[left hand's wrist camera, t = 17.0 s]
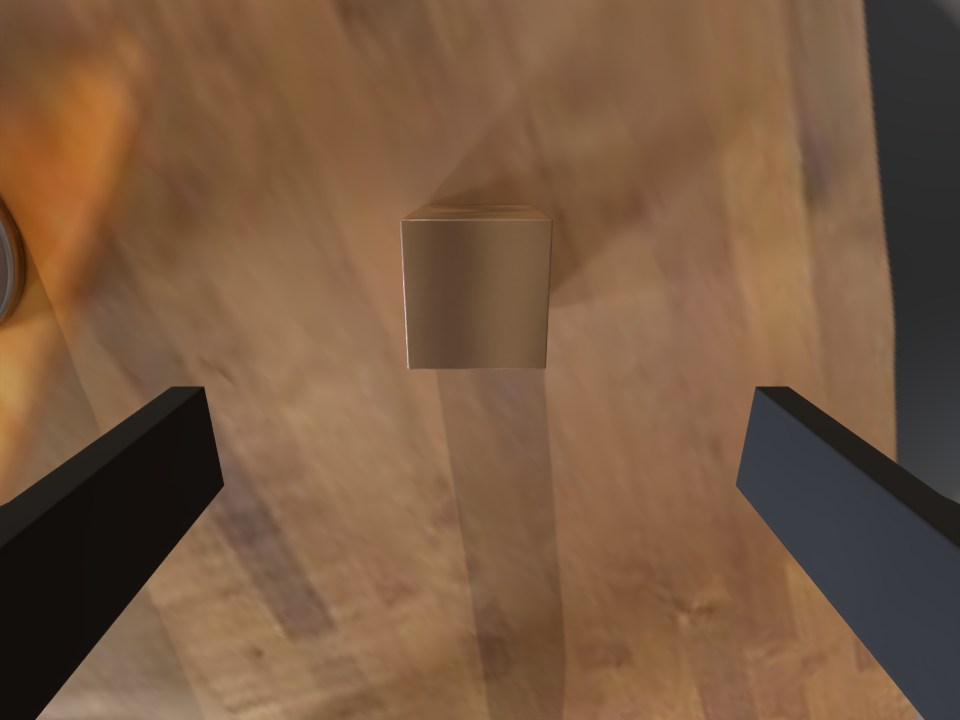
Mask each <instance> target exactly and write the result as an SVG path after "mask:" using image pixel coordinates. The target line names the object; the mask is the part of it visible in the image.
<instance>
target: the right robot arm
mask: <svg viewBox="0 0 960 720" xmlns="http://www.w3.org/2000/svg"><path fill="white" fill-rule="evenodd" d="M24 279H25V262H24V253H23V248H22V244H21V240H20V237H19V234H18V231H17V228H16V226H15V223H14V221H13V219H12V217H11V215H10V213H9V211H8V209H7V207H6V206H5V204H4V202H3V201H2V199H1V198H0V326H1V325H3V324H4V323H5V322H6V321H7V320H8V318H9V317H10V316H11V315H12V313H13V312H14V310H15V308H16V306H17V305H18V303H19V300H20V297H21V295H22V291H23V286H24Z"/></svg>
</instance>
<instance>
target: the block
mask: <svg viewBox="0 0 960 720" xmlns="http://www.w3.org/2000/svg"><path fill="white" fill-rule="evenodd" d="M552 225H553V220H552V219H551V218H549V217H548V216H546V215H545V214H543V213H542V212H540V211H539V210H537V209H536V208H534V207H533V206H531V205H423V206H421V207H420V208H418V209H417V210H415V211H413V212H412V213H410V214H409V215H407V216H406V217H404V218H403V219H401V220H400V229H401V248H402V267H403V286H404V305H405V324H406V343H407V362H408V369H545V368H546V353H547V332H548V310H549V289H550V268H551V246H552Z"/></svg>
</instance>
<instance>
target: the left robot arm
mask: <svg viewBox="0 0 960 720" xmlns="http://www.w3.org/2000/svg"><path fill="white" fill-rule="evenodd" d="M223 486H224V482H223V477H222V472H221V467H220V462H219V457H218V452H217V447H216V442H215V438H214V433H213V428H212V423H211V418H210V413H209V408H208V403H207V398H206V393H205V389H204V387H171V388H169V389H168V390H166V391H165V392H164V393H162V394H161V395H159V396H158V397H157V398H155V399H154V400H152V401H151V402H150V403H148V404H147V405H145V406H144V407H142V408H141V409H140V410H138V411H137V412H135V413H134V414H133V415H131V416H130V417H128V418H127V419H126V420H124V421H123V422H121V423H120V424H118V425H117V426H116V427H114V428H113V429H111V430H110V431H109V432H107V433H106V434H104V435H103V436H102V437H100V438H99V439H97V440H96V441H95V442H93V443H92V444H90V445H89V446H87V447H86V448H85V449H83V450H82V451H80V452H79V453H78V454H76V455H75V456H73V457H72V458H71V459H69V460H68V461H66V462H65V463H64V464H62V465H61V466H59V467H58V468H56V469H55V470H54V471H52V472H51V473H49V474H48V475H47V476H45V477H44V478H42V479H41V480H40V481H38V482H37V483H35V484H34V485H33V486H31V487H30V488H28V489H27V490H25V491H24V492H23V493H21V494H20V495H18V496H17V497H16V498H14V499H13V500H11V501H10V502H8V503H6V504H4V505H2V506H0V720H35V719H36V718H37V717H38V716H39V715H40V713H41V712H42V711H43V710H44V708H45V707H46V706H47V705H48V703H49V702H50V701H51V700H52V698H53V697H54V696H55V695H56V693H57V692H58V691H59V690H60V688H61V687H62V686H63V685H64V684H65V682H66V681H67V680H68V679H69V677H70V676H71V675H72V674H73V672H74V671H75V670H76V669H77V667H78V666H79V665H80V664H81V662H82V661H83V660H84V659H85V657H86V656H87V655H88V654H89V652H90V651H91V650H92V649H93V648H94V646H95V645H96V644H97V643H98V641H99V640H100V639H101V638H102V636H103V635H104V634H105V633H106V631H107V630H108V629H109V628H110V626H111V625H112V624H113V623H114V621H115V620H116V619H117V618H118V617H119V615H120V614H121V613H122V612H123V610H124V609H125V608H126V607H127V605H128V604H129V603H130V602H131V600H132V599H133V598H134V597H135V595H136V594H137V593H138V592H139V590H140V589H141V588H142V587H143V585H144V584H145V583H146V582H147V581H148V579H149V578H150V577H151V576H152V574H153V573H154V572H155V571H156V569H157V568H158V567H159V566H160V564H161V563H162V562H163V561H164V559H165V558H166V557H167V556H168V554H169V553H170V552H171V551H172V550H173V548H174V547H175V546H176V545H177V543H178V542H179V541H180V540H181V538H182V537H183V536H184V535H185V533H186V532H187V531H188V530H189V528H190V527H191V526H192V525H193V523H194V522H195V521H196V520H197V519H198V517H199V516H200V515H201V514H202V512H203V511H204V510H205V509H206V507H207V506H208V505H209V504H210V502H211V501H212V500H213V499H214V497H215V496H216V495H217V494H218V492H219V491H220V490H221V489H222V487H223ZM736 486H737V488H738V489H739V490H740V491H741V492H742V494H743V495H744V496H745V497H746V499H747V500H748V501H749V502H750V504H751V505H752V506H753V507H754V509H755V510H756V511H757V512H758V514H759V515H760V516H761V517H762V519H763V520H764V521H765V522H766V523H767V525H768V526H769V527H770V528H771V530H772V531H773V532H774V533H775V535H776V536H777V537H778V538H779V540H780V541H781V542H782V543H783V545H784V546H785V547H786V548H787V550H788V551H789V552H790V553H791V554H792V556H793V557H794V558H795V559H796V561H797V562H798V563H799V564H800V566H801V567H802V568H803V569H804V571H805V572H806V573H807V574H808V576H809V577H810V578H811V579H812V581H813V582H814V583H815V584H816V586H817V587H818V588H819V589H820V590H821V592H822V593H823V594H824V595H825V597H826V598H827V599H828V600H829V602H830V603H831V604H832V605H833V607H834V608H835V609H836V610H837V612H838V613H839V614H840V615H841V617H842V618H843V619H844V620H845V621H846V623H847V624H848V625H849V626H850V628H851V629H852V630H853V631H854V633H855V634H856V635H857V636H858V638H859V639H860V640H861V641H862V643H863V644H864V645H865V646H866V648H867V649H868V650H869V651H870V652H871V654H872V655H873V656H874V657H875V659H876V660H877V661H878V662H879V664H880V665H881V666H882V667H883V669H884V670H885V671H886V672H887V674H888V675H889V676H890V677H891V679H892V680H893V681H894V682H895V684H896V685H897V686H898V687H899V688H900V690H901V691H902V692H903V693H904V695H905V696H906V697H907V698H908V700H909V701H910V702H911V703H912V705H913V706H914V707H915V708H916V710H917V711H918V712H919V713H920V715H921V716H922V717H923V718H924V719H925V720H960V504H958V503H956V502H954V501H952V500H950V499H948V498H946V497H944V496H942V495H940V494H939V493H937V492H936V491H934V490H933V489H932V488H930V487H929V486H927V485H926V484H925V483H923V482H922V481H920V480H919V479H918V478H916V477H915V476H913V475H912V474H911V473H909V472H908V471H906V470H905V469H904V468H902V467H901V466H899V465H898V464H896V463H895V462H894V461H892V460H891V459H889V458H888V457H887V456H885V455H884V454H882V453H881V452H880V451H878V450H877V449H875V448H874V447H873V446H871V445H870V444H868V443H867V442H865V441H864V440H863V439H861V438H860V437H858V436H857V435H856V434H854V433H853V432H851V431H850V430H849V429H847V428H846V427H844V426H843V425H842V424H840V423H839V422H837V421H836V420H834V419H833V418H832V417H830V416H829V415H827V414H826V413H825V412H823V411H822V410H820V409H819V408H818V407H816V406H815V405H813V404H812V403H810V402H809V401H808V400H806V399H805V398H803V397H802V396H801V395H799V394H798V393H796V392H795V391H794V390H792V389H791V388H789V387H756V389H755V393H754V398H753V403H752V408H751V413H750V418H749V423H748V428H747V433H746V438H745V442H744V447H743V452H742V457H741V462H740V467H739V472H738V477H737V482H736Z"/></svg>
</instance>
